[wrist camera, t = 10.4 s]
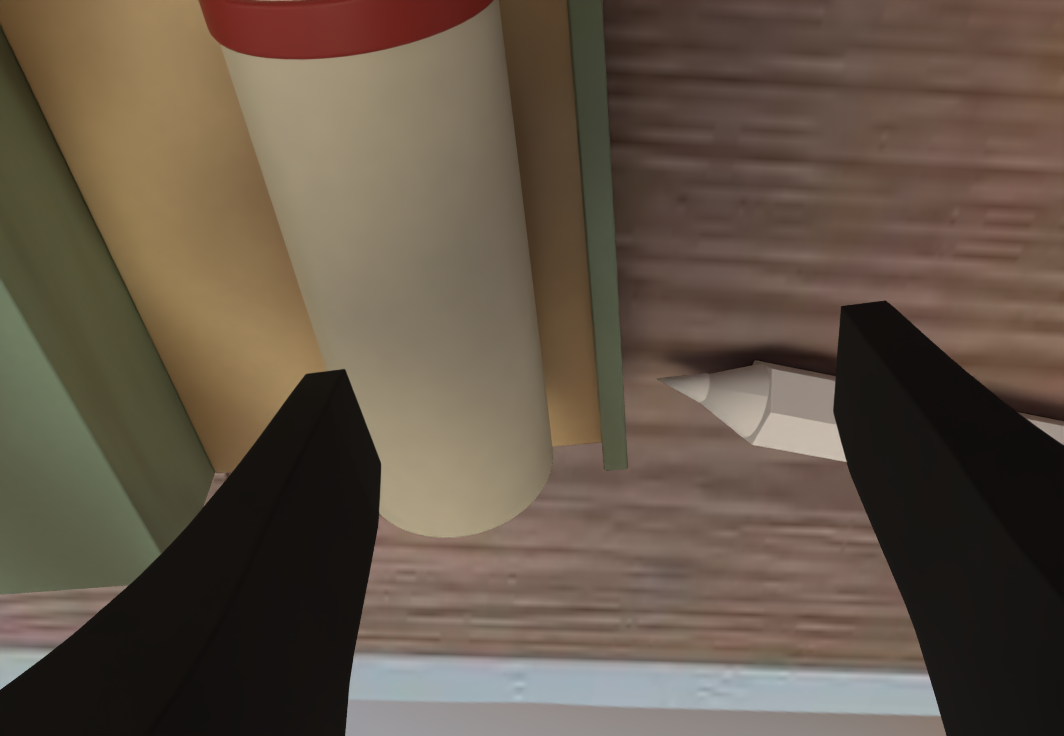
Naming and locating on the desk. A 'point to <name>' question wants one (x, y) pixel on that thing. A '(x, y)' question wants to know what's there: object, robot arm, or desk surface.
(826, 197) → the desk surface
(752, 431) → the marker
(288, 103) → the red-banded cream cylinder
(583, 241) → the tray with green block
